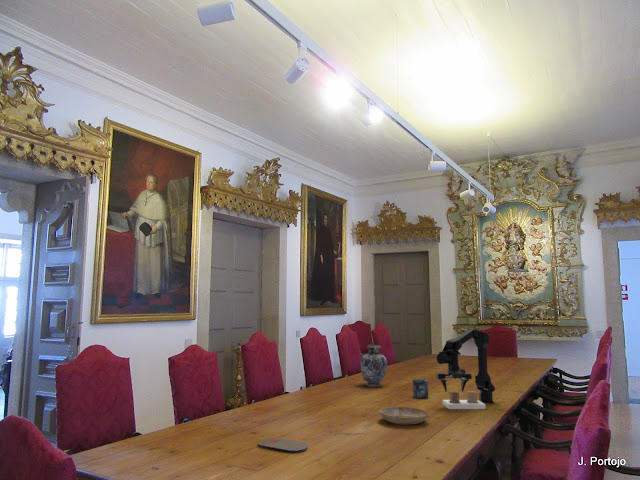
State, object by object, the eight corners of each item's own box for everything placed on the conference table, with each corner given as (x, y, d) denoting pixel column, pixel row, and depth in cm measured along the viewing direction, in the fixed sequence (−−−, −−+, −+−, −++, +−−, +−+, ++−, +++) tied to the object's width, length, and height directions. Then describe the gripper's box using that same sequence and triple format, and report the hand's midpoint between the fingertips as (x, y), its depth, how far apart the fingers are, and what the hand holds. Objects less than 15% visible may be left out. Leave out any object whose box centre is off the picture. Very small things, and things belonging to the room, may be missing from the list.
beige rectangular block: (457, 405, 262) (456, 391, 263) (459, 407, 258) (459, 392, 259) (450, 405, 262) (449, 391, 263) (452, 407, 258) (451, 392, 259)
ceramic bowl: (425, 430, 212) (425, 419, 212) (374, 425, 220) (374, 414, 220) (431, 418, 233) (431, 408, 234) (385, 414, 241) (385, 404, 242)
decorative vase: (357, 382, 335) (358, 343, 339) (383, 382, 337) (383, 343, 341) (363, 388, 314) (364, 346, 318) (390, 388, 316) (390, 346, 320)
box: (416, 398, 282) (415, 380, 284) (412, 396, 288) (412, 378, 289) (428, 398, 283) (428, 380, 285) (425, 396, 289) (424, 378, 290)
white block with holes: (477, 404, 266) (477, 389, 267) (485, 409, 254) (484, 393, 255) (442, 404, 266) (442, 389, 267) (449, 409, 254) (448, 393, 255)
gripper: (440, 364, 255) (441, 394, 253) (474, 365, 255) (475, 394, 253) (435, 362, 266) (436, 390, 264) (467, 362, 266) (468, 390, 264)
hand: (454, 391), depth 261 cm, fingers open, 9 cm apart
